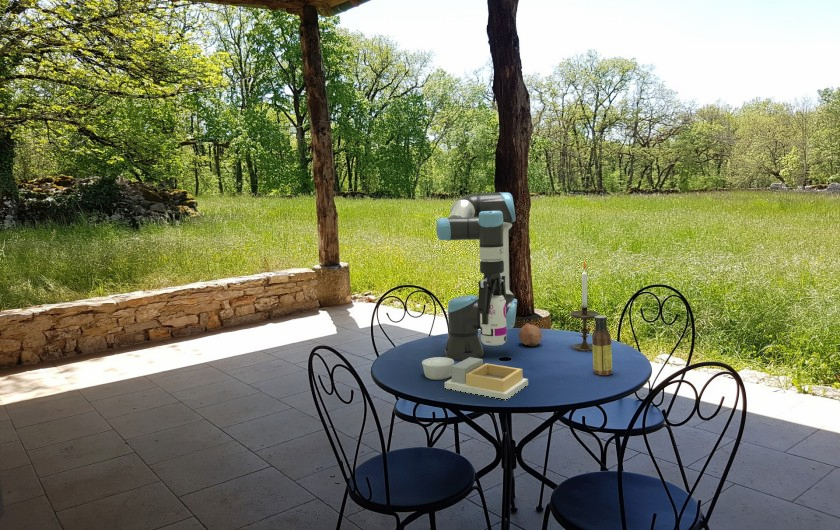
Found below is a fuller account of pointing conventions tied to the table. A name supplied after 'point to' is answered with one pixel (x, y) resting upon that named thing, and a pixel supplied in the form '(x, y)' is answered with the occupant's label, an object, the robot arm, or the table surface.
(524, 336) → the onion
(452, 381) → the tan-rimmed shallow tray
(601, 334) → the sauce bottle
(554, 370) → the table surface
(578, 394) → the table surface
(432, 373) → the ramekin
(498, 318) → the supplement can
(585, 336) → the candlestick
